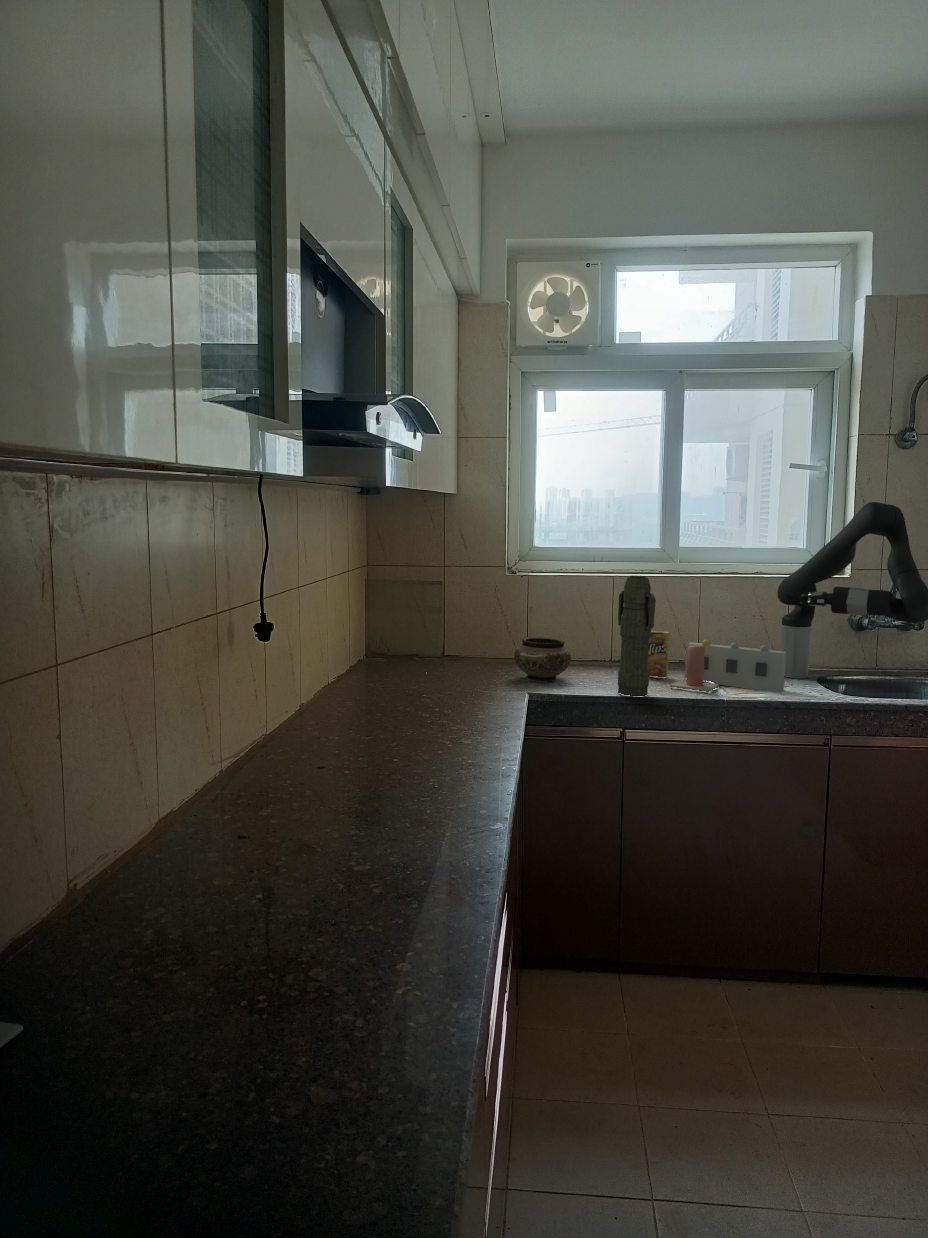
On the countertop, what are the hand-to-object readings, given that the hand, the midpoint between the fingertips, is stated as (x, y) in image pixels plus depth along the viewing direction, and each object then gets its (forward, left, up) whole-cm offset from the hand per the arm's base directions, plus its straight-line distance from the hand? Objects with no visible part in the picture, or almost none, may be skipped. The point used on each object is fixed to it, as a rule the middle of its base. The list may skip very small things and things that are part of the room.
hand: (790, 597), depth 250 cm
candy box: (-8, -43, -30) cm, 53 cm away
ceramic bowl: (+19, -70, -30) cm, 79 cm away
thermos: (+22, -38, -30) cm, 53 cm away
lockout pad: (+2, -26, -30) cm, 40 cm away
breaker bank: (-12, -18, -30) cm, 37 cm away
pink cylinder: (+2, -26, -29) cm, 39 cm away
